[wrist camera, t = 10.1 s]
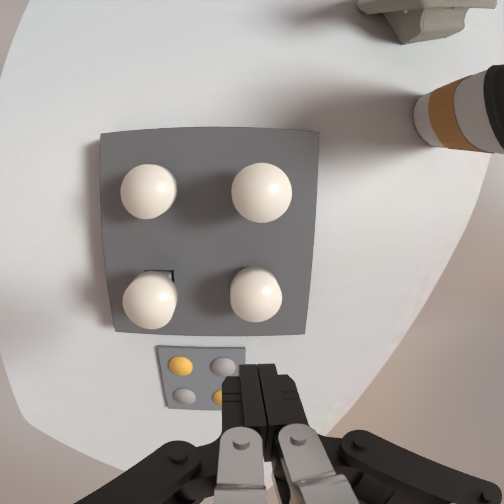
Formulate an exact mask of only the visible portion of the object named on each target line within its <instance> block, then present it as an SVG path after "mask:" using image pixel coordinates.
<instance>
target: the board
mask: <svg viewBox="0 0 504 504" xmlns="http://www.w3.org/2000/svg"><path fill="white" fill-rule="evenodd" d="M318 151H319V132H313V131H301V130H289V129H273V128H251V127H181V128H159V129H144V130H131V131H121V132H111V133H102V134H101V137H100V203H101V222H102V237H103V248H104V258H105V268H106V276H107V284H108V291H109V298H110V304H111V310H112V316H113V322H114V327H115V332H127V333H142V334H160V335H186V336H273V335H299V334H305V328H306V319H307V310H308V301H309V291H310V281H311V270H312V258H313V246H314V232H315V217H316V200H317V179H318ZM256 163H268V164H272V165H274V166H276V167H278V168H279V169H281V170H282V171H283V172H284V173H285V174H286V176H287V177H288V179H289V181H290V184H291V188H292V198H291V202H290V204H289V207H288V208H287V210H286V211H285V212H284V213H283V215H281V216H280V217H279V218H277V219H275V220H273V221H270V222H266V223H257V222H253V221H250V220H248V219H246V218H245V217H243V216H242V215H241V214H240V213H239V212H238V211H237V209H236V208H235V206H234V203H233V200H232V193H231V189H232V183H233V181H234V178H235V177H236V175H237V174H238V173H239V172H240V171H241V170H242V169H243V168H245V167H247V166H249V165H252V164H256ZM144 164H151V165H160V166H163V167H165V168H167V169H168V170H169V171H170V172H171V173H172V174H173V175H174V177H175V179H176V182H177V187H178V192H177V197H176V200H175V202H174V204H173V205H172V206H171V207H170V208H169V209H168V210H167V211H165V212H164V213H162V214H161V215H159V216H157V217H155V218H152V219H140V218H137V217H135V216H133V215H132V214H130V213H129V212H128V211H127V210H126V208H125V207H124V205H123V203H122V200H121V185H122V182H123V179H124V178H125V176H126V175H127V173H128V172H129V171H130V170H132V169H133V168H135V167H137V166H139V165H144ZM251 266H259V267H263V268H265V269H267V270H269V271H270V272H271V273H272V274H273V275H274V276H275V278H276V280H277V283H278V285H279V287H280V290H281V293H282V303H281V306H280V308H279V310H278V311H277V313H276V314H275V315H274V316H272V317H271V318H269V319H267V320H265V321H262V322H249V321H246V320H243V319H242V318H240V317H239V316H237V315H236V313H235V312H234V311H233V309H232V306H231V301H230V286H231V282H232V280H233V278H234V276H235V275H236V274H237V273H238V271H241V270H242V269H244V268H247V267H251ZM150 270H174V284H175V286H176V288H177V292H178V301H177V304H176V307H175V310H174V313H173V315H172V318H171V320H170V321H169V322H168V323H167V324H166V325H165V326H163V327H161V328H158V329H145V328H142V327H140V326H138V325H136V324H135V323H133V322H132V321H131V320H130V319H129V318H128V316H127V315H126V313H125V311H124V308H123V295H124V292H125V291H126V289H127V288H128V287H129V285H130V284H131V283H132V282H133V280H134V279H135V278H136V277H137V276H138V275H139V274H141V273H143V272H146V271H150Z"/></svg>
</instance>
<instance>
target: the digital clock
mask: <svg viewBox="0 0 504 504" xmlns="http://www.w3.org/2000/svg"><path fill="white" fill-rule="evenodd" d="M496 5H497V0H358V3H357V6H358V8H359V9H360V10H361V11H362V12H363V13H365V14H367V15H371V14H377V13H383V15H384V16H385V18H386V19H387V21H388V23H389V24H390V26H391V28H392V29H393V31H394V33H395V34H396V36H397V38H398V39H399V41H400V43H401V44H402V45H404V44H410V43H415V42H421V41H427V40H433V39H440V38H447V37H449V36H451V35H453V34H455V33H457V32H459V31H461V30H463V29H464V27H465V24H464V18H465V15H466V13H467V11H468V9H469V8H489V9H494V8H495V7H496Z"/></svg>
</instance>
